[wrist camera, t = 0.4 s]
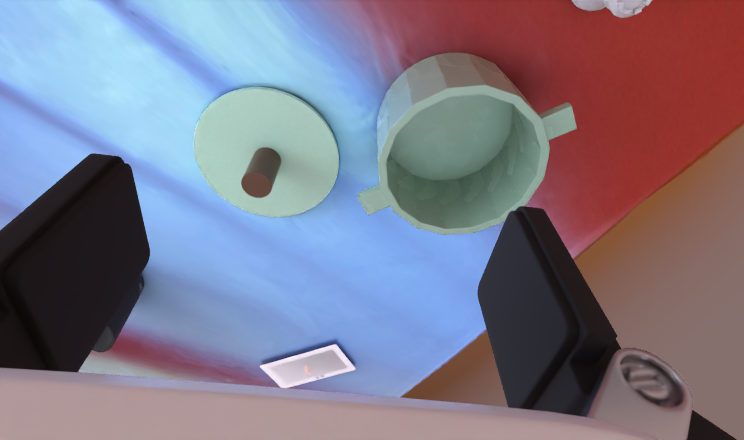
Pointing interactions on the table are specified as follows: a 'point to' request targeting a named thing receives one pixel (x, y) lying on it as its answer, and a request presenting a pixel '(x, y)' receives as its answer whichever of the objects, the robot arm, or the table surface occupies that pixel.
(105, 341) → the pen holder
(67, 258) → the robot arm
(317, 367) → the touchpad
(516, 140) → the pale green cooking pot
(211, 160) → the pot lid
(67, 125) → the table surface
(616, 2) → the rook chess piece
